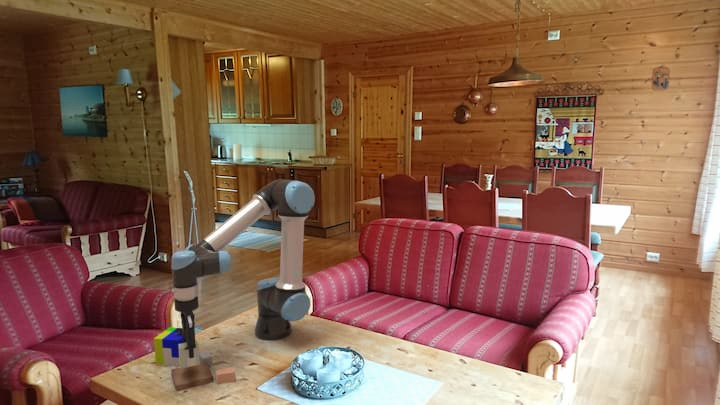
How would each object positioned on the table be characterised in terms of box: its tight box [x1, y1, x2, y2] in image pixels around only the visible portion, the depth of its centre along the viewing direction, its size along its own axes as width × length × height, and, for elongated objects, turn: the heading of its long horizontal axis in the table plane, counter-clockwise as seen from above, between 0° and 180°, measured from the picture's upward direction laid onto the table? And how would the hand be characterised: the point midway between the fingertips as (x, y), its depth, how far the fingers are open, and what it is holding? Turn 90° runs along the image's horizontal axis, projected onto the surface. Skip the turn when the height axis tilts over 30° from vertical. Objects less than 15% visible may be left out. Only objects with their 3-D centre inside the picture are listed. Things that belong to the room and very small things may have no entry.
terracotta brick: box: [216, 366, 236, 385], centre depth 164 cm, size 6×4×4 cm, turn 107°
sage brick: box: [178, 340, 200, 368], centre depth 164 cm, size 6×4×7 cm, turn 118°
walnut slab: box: [170, 361, 214, 392], centre depth 165 cm, size 12×12×2 cm
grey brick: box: [199, 349, 214, 367], centre depth 176 cm, size 6×4×4 cm, turn 32°
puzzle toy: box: [153, 326, 185, 367], centre depth 179 cm, size 10×10×10 cm
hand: (190, 362), depth 164 cm, fingers closed on sage brick, 4 cm apart
